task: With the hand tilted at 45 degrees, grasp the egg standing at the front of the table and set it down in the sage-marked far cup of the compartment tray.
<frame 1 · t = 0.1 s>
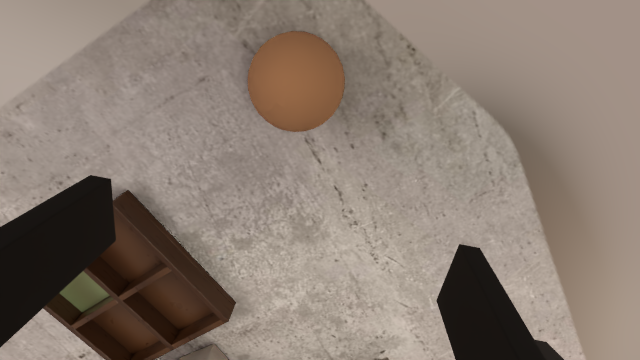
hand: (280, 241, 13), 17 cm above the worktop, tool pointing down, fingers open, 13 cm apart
compartment tray: (132, 282, 37), on the worktop
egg: (303, 75, 27), on the worktop
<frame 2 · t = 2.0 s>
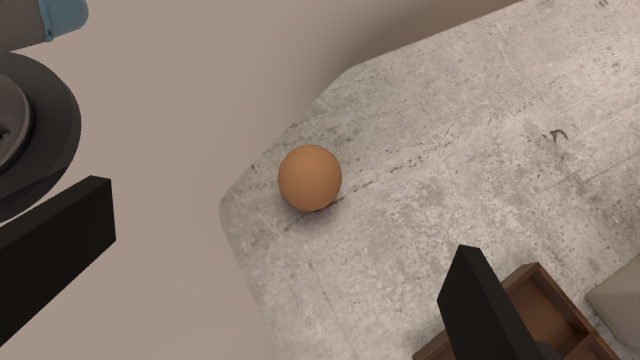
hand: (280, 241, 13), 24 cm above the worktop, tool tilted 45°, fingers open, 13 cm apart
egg: (308, 191, 39), on the worktop
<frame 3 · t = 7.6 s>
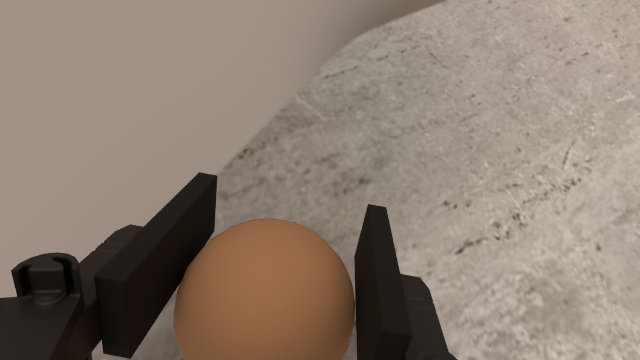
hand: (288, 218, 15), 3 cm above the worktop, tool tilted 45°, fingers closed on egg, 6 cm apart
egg: (274, 307, 17), on the worktop, touching gripper
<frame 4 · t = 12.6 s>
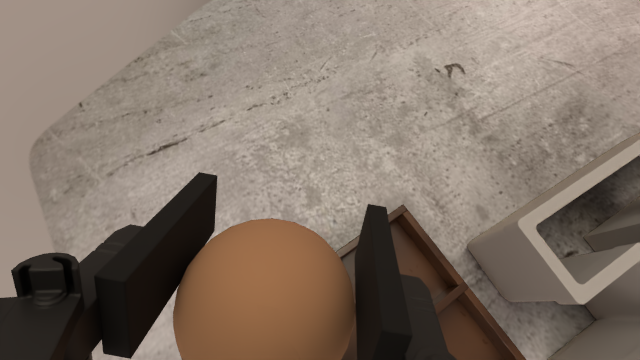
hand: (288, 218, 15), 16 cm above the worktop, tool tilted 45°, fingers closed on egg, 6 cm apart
compartment tray: (381, 345, 28), on the worktop
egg: (274, 307, 17), point 12 cm above the worktop, touching gripper
grey compartment organizer: (627, 247, 32), on the worktop
when the fingers open (4 cm above the worktop, at t = 17.5 s): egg stays where it is, resting on compartment tray.
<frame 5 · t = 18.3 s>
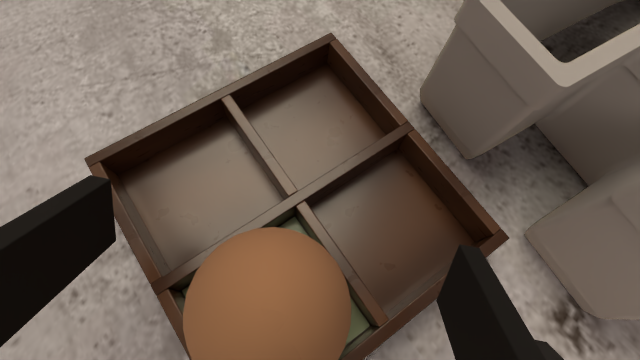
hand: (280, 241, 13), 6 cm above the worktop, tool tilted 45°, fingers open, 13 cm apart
compartment tray: (296, 211, 20), on the worktop
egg: (275, 309, 18), point 1 cm above the worktop, touching compartment tray
grey compartment organizer: (631, 108, 25), on the worktop
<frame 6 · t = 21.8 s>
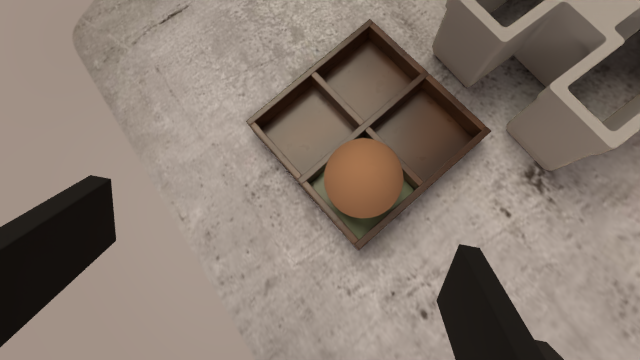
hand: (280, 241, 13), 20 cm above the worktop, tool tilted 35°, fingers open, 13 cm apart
compartment tray: (363, 135, 34), on the worktop
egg: (361, 188, 33), point 1 cm above the worktop, touching compartment tray
grey compartment organizer: (587, 32, 35), on the worktop
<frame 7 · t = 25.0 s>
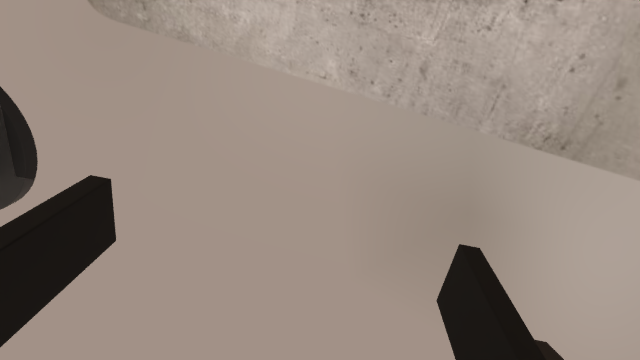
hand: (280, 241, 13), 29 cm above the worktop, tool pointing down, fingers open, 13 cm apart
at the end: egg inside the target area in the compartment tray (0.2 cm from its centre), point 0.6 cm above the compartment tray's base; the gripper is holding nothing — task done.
